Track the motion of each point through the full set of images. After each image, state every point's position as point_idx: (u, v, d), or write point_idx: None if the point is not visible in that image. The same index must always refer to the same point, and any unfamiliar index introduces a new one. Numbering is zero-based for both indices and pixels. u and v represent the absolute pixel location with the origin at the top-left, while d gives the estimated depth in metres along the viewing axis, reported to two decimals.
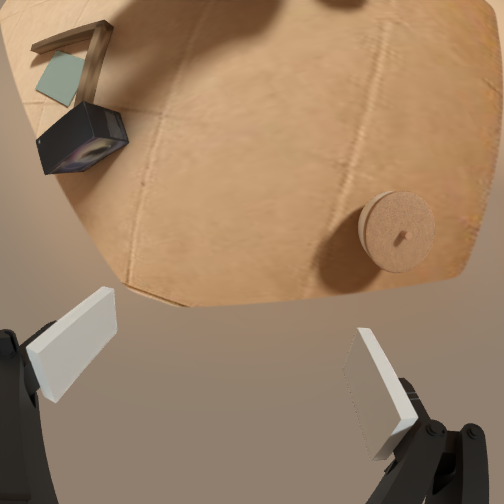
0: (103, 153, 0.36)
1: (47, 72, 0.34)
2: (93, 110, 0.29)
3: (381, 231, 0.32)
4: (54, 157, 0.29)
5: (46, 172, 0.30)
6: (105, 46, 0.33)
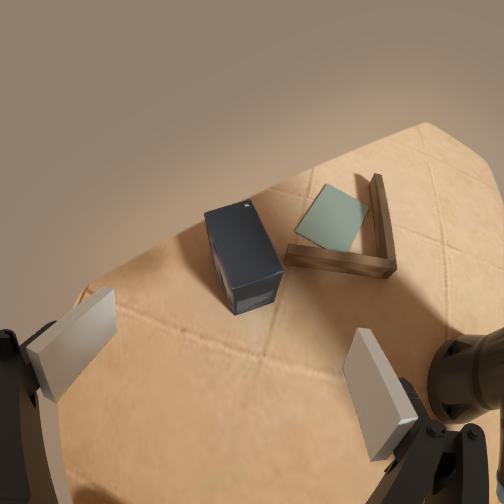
0: None
1: (343, 198, 0.48)
2: (271, 281, 0.31)
3: None
4: (220, 228, 0.32)
5: (206, 215, 0.33)
6: (362, 273, 0.41)
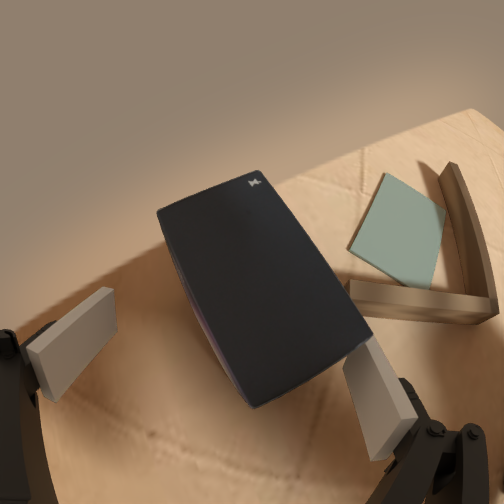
0: None
1: (412, 196, 0.28)
2: None
3: None
4: (198, 245, 0.12)
5: (161, 216, 0.13)
6: (452, 321, 0.21)
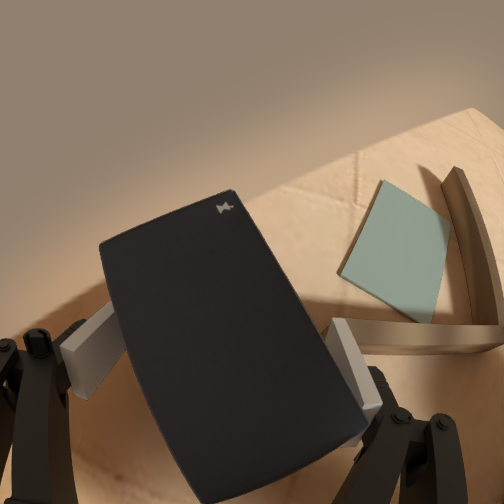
0: None
1: (413, 206, 0.25)
2: None
3: None
4: (142, 296, 0.09)
5: (103, 252, 0.10)
6: (456, 352, 0.17)
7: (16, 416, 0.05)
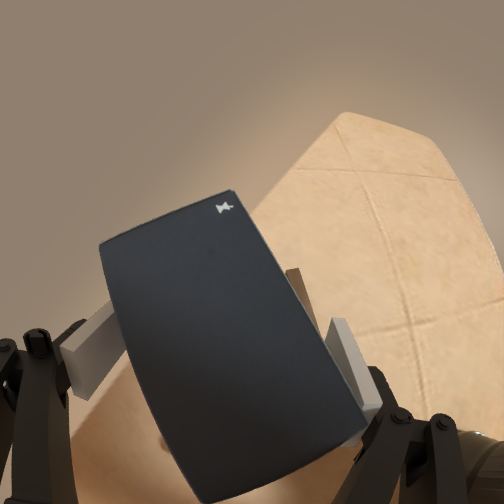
0: None
1: None
2: None
3: None
4: (141, 296, 0.09)
5: (103, 252, 0.10)
6: None
7: (16, 416, 0.05)
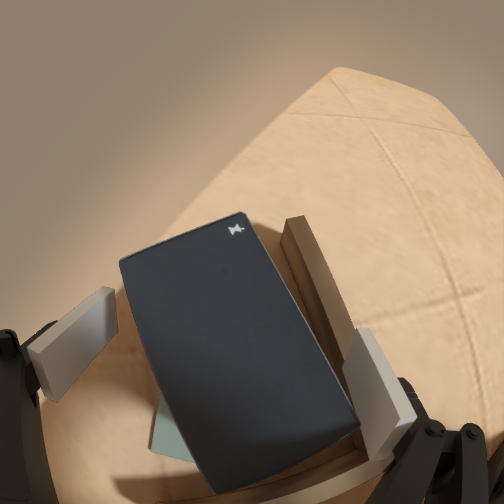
0: None
1: None
2: None
3: None
4: (162, 311, 0.10)
5: (123, 268, 0.11)
6: None
7: None
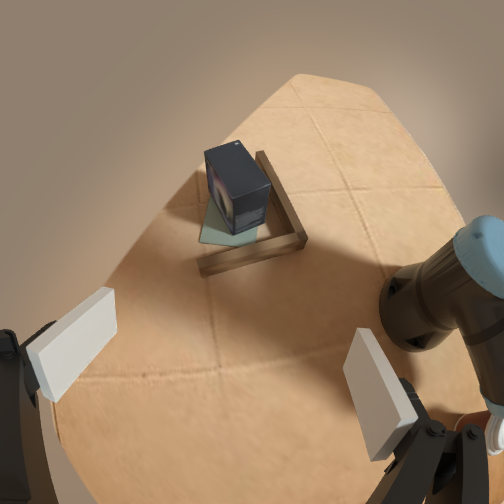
0: (222, 210, 0.44)
1: None
2: (261, 195, 0.39)
3: None
4: (218, 160, 0.39)
5: (205, 152, 0.40)
6: (277, 254, 0.44)
7: None
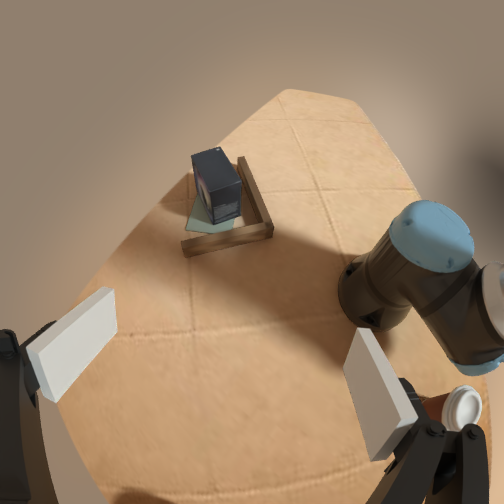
0: (204, 204, 0.53)
1: None
2: (234, 190, 0.49)
3: None
4: (201, 162, 0.49)
5: (192, 156, 0.50)
6: (249, 241, 0.53)
7: None
